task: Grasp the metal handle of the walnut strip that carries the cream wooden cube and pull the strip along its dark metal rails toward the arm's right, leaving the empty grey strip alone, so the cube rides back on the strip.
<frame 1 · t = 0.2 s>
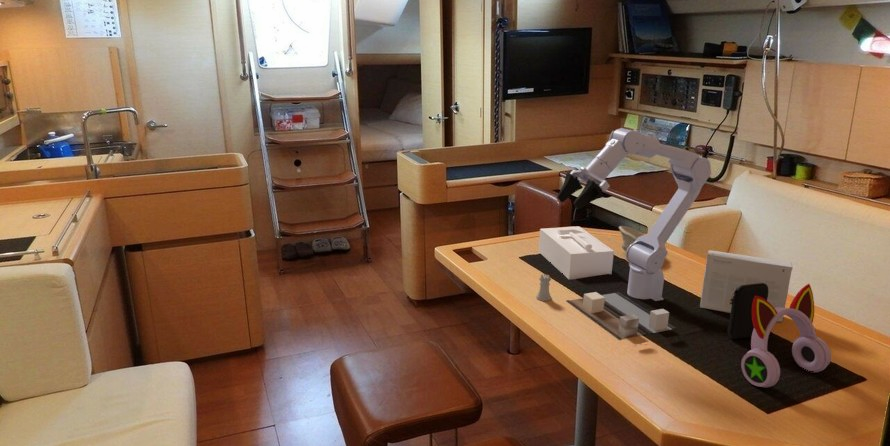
hand: (567, 203, 164), 31 cm above the table, tool tilted 45°, fingers open, 7 cm apart
strip A: (604, 310, 169), point 3 cm above the table, slide at 0.0 cm, touching cube
tissue box: (573, 264, 210), on the table
rook chess piece: (543, 302, 181), on the table
lane rails: (617, 318, 171), on the table
carrying case or bag: (741, 338, 163), on the table
cube: (592, 309, 174), point 1 cm above the table, touching strip A
skincare box: (739, 312, 177), on the table
strip B: (633, 305, 172), point 3 cm above the table, slide at 0.0 cm
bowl: (636, 255, 218), on the table
headphones: (780, 376, 145), on the table
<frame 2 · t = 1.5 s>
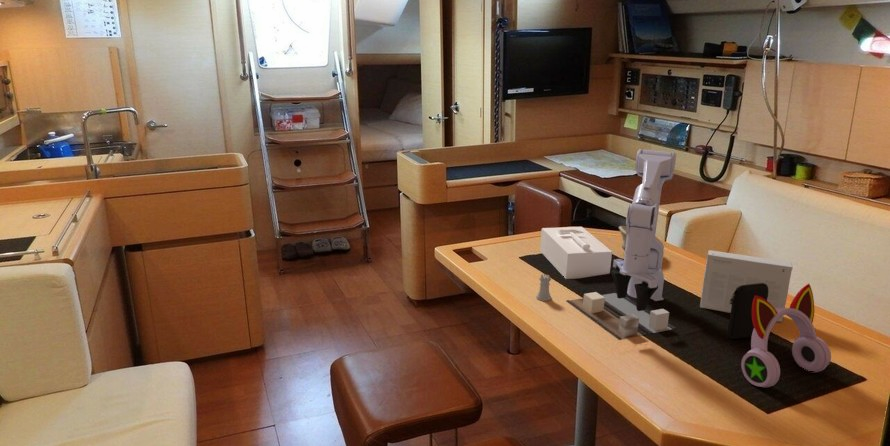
hand: (630, 303, 158), 9 cm above the table, tool pointing down, fingers open, 7 cm apart
nothing on the table moved.
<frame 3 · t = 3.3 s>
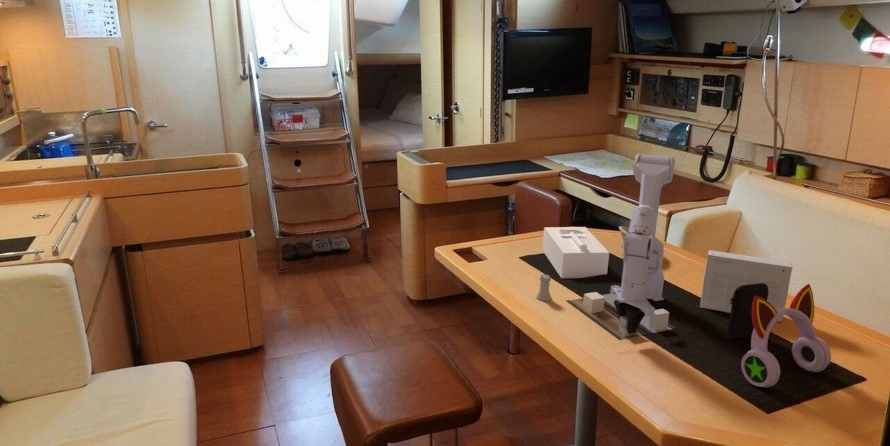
hand: (628, 329, 160), 2 cm above the table, tool pointing down, fingers closed on strip A, 2 cm apart
strip A: (604, 310, 169), point 3 cm above the table, slide at 0.0 cm, touching cube, gripper
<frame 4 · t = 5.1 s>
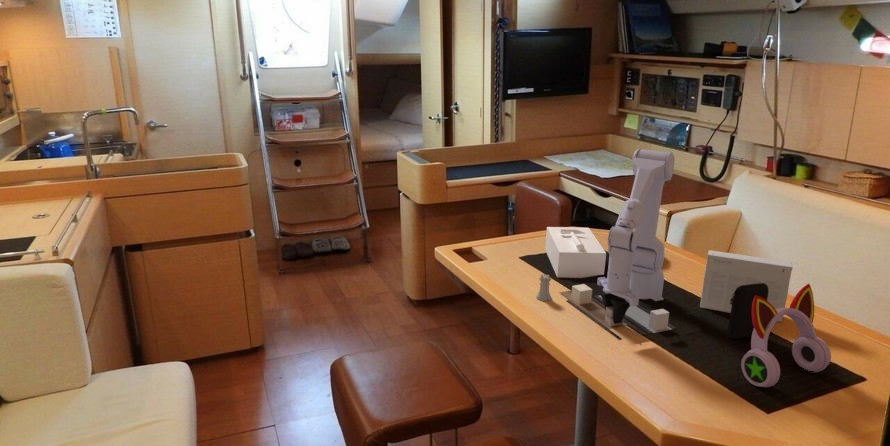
hand: (613, 320, 165), 2 cm above the table, tool pointing down, fingers closed on strip A, 2 cm apart
strip A: (591, 302, 174), point 3 cm above the table, slide at 5.8 cm, touching cube, gripper
cube: (581, 300, 179), point 1 cm above the table, touching strip A
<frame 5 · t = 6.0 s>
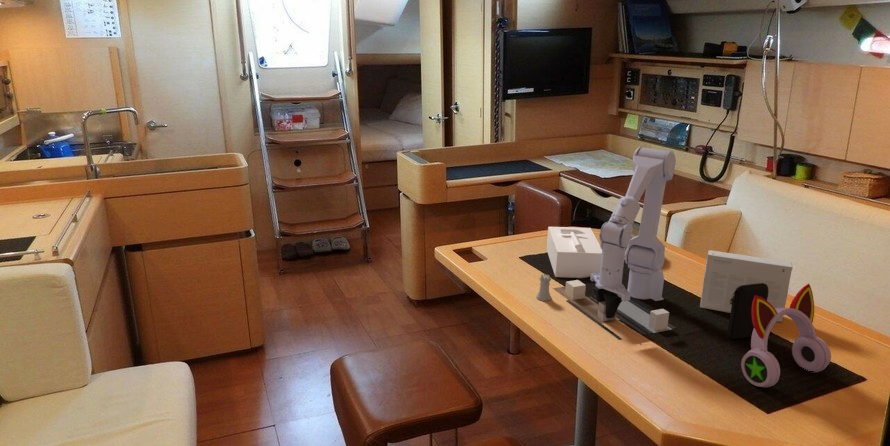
hand: (606, 315, 168), 2 cm above the table, tool pointing down, fingers closed on strip A, 2 cm apart
strip A: (585, 297, 177), point 3 cm above the table, slide at 9.0 cm, touching cube, gripper
cube: (574, 296, 182), point 1 cm above the table, touching strip A
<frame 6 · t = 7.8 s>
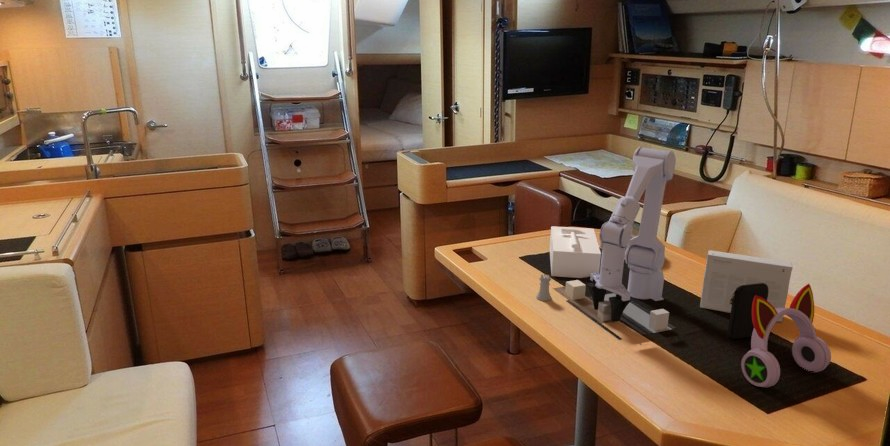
hand: (606, 314, 168), 2 cm above the table, tool pointing down, fingers open, 7 cm apart
strip A: (585, 297, 177), point 3 cm above the table, slide at 9.0 cm, touching cube
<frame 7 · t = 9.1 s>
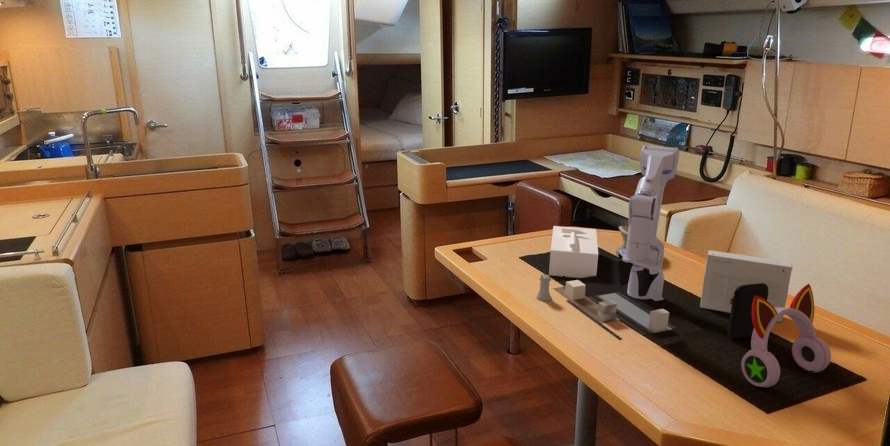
hand: (632, 289, 166), 9 cm above the table, tool pointing down, fingers open, 7 cm apart
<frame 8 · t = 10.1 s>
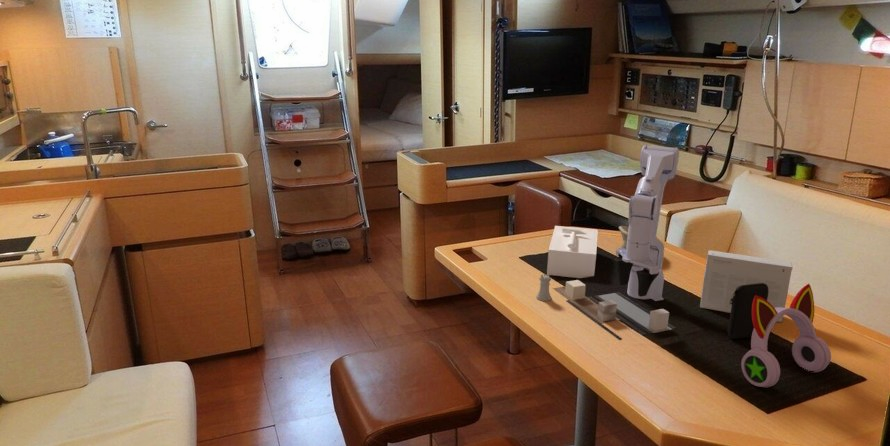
hand: (632, 289, 166), 9 cm above the table, tool pointing down, fingers open, 7 cm apart
at the end: strip A slide at 9.0 cm; cube inside the target area (0.0 cm from its centre), point 1.2 cm above the table; cube tilted 0° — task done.
